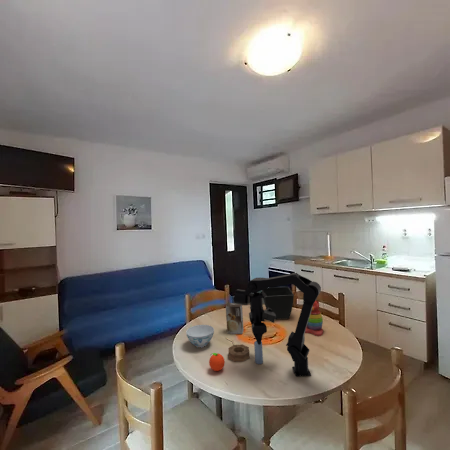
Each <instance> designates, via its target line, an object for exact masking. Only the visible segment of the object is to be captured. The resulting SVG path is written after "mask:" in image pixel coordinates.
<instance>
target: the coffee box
mask: <svg viewBox="0 0 450 450" xmlns="http://www.w3.org/2000/svg"><path fill="white" fill-rule="evenodd" d="M243 312H244V311H243V305H241V304H235V303H233V302H228V303H226V305H225V317H226V320H225V321H226V333H227V334H230V335H231V334H232V335H233V334H235V335H243V333H244V330H245V329H244V328H245V327H244V317H243V316H244V315H243Z"/></svg>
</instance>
